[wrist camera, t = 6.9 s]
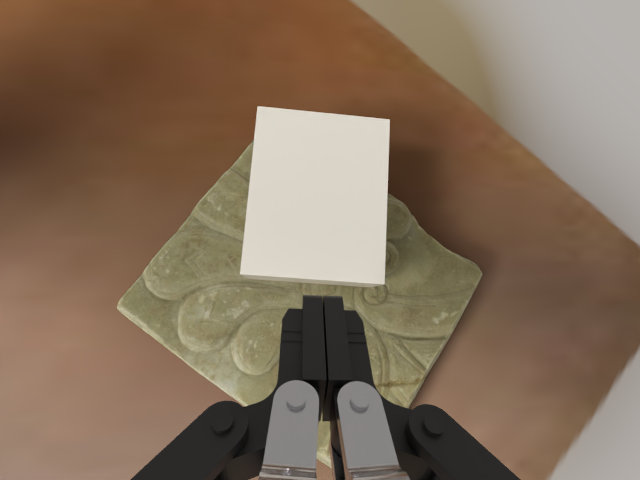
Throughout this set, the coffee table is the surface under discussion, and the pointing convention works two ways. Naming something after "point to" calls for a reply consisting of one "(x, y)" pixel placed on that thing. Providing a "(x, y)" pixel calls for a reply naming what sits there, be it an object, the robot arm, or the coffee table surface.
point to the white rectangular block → (317, 199)
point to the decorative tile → (293, 301)
